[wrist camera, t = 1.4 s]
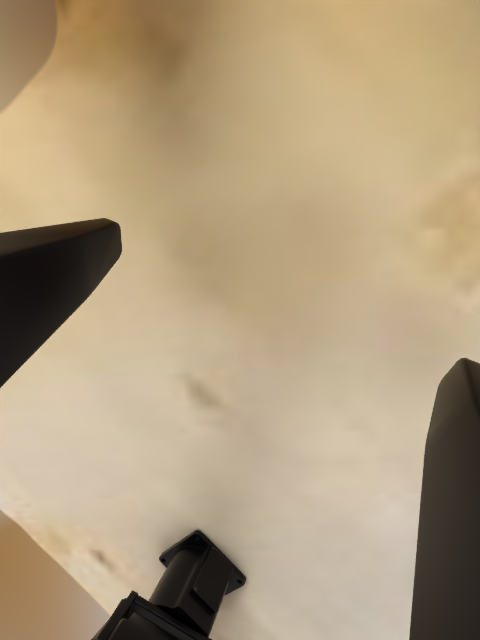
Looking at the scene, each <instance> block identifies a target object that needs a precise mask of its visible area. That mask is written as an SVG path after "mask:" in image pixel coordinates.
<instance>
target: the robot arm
mask: <svg viewBox="0 0 480 640" xmlns="http://www.w3.org/2000/svg"><path fill="white" fill-rule="evenodd" d="M121 252H122V243H121V229H120V226H119V224H118V223H117V222H114V221H112V220H109V219H106V218H101V219H94V220H87V221H80V222H73V223H66V224H59V225H52V226H45V227H38V228H32V229H25V230H18V231H11V232H4V233H0V388H1V387H2V386H3V385H4V384H5V383H6V381H7V380H8V379H9V378H10V377H11V376H12V375H13V374H14V373H15V372H16V371H17V370H18V369H19V368H20V367H21V366H22V365H23V364H24V363H25V362H26V361H27V360H28V359H29V358H30V357H31V356H32V355H33V354H34V353H35V352H36V351H37V350H38V349H39V348H40V347H41V346H42V345H43V343H44V342H45V341H46V340H47V339H48V338H49V337H50V336H51V335H52V334H53V333H54V332H55V331H56V330H57V329H58V328H59V327H60V326H61V325H62V324H63V323H64V322H65V321H66V320H67V319H68V318H69V317H70V316H71V315H72V314H73V313H74V312H75V311H76V310H77V309H78V308H79V307H80V305H81V304H82V303H83V302H84V301H85V300H86V299H87V298H88V297H89V296H90V295H91V293H92V292H93V291H94V290H95V289H96V287H97V286H98V285H99V283H100V282H101V281H102V280H103V278H104V277H105V276H106V274H107V273H108V272H109V270H110V269H111V268H112V267H113V265H114V264H115V263H116V261H117V260H118V259H119V257H120V255H121ZM159 560H160V562H161V563H162V564H163V565H164V566H165V567H166V568H167V569H166V570H165V572H164V574H163V576H162V578H161V579H160V581H159V583H158V585H157V587H156V589H155V590H154V592H153V594H152V596H151V598H150V599H149V601H147V600H145V599H144V598H142V597H141V596H139V595H138V593H136V592H135V591H133V590H132V592H131V593H130V595H129V596H128V597H127V599H126V598H125V599H122V600H121V602H120V603H119V605H118V606H117V608H116V610H115V611H114V613H113V614H112V616H111V617H110V619H109V620H108V621H107V622H106V624H105V625H104V626H103V627H102V628H101V629H100V631H98V633H97V634H96V635H95V636H94V637H93V638H92V639H91V640H211V639H210V638H209V635H210V632H211V629H212V627H213V624H214V621H215V619H216V616H217V613H218V611H219V608H220V605H221V603H222V600H223V597H224V595H226V594H228V593H230V592H232V591H234V590H236V589H238V588H240V587H241V586H243V585H244V584H245V581H246V577H245V576H244V575H243V574H242V573H241V572H240V571H239V570H238V569H237V568H236V567H235V566H234V565H233V564H232V563H231V562H230V561H229V560H228V558H227V557H226V556H225V555H224V554H223V553H222V552H221V551H220V550H219V549H218V548H217V547H216V546H215V545H214V544H213V543H212V542H211V541H210V540H209V539H208V538H207V537H206V536H205V535H204V534H203V533H202V532H201V531H199V530H195V531H194V532H192V533H191V534H189V535H188V536H186V537H185V538H184V539H182V540H181V541H179V542H178V543H176V544H175V545H173V546H172V547H170V548H169V549H168V550H166V551H165V552H163V553H162V554H161V556H160V557H159ZM409 640H480V363H477V362H475V361H472V360H469V359H467V358H461V359H460V360H458V361H457V362H456V363H455V365H454V366H453V367H452V368H451V369H450V370H449V372H448V373H447V374H446V375H445V376H444V378H443V379H442V380H441V382H440V384H439V386H438V390H437V394H436V399H435V403H434V408H433V412H432V417H431V421H430V426H429V430H428V435H427V440H426V445H425V454H424V467H423V479H422V491H421V503H420V515H419V528H418V540H417V552H416V564H415V577H414V589H413V601H412V613H411V625H410V638H409Z"/></svg>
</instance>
